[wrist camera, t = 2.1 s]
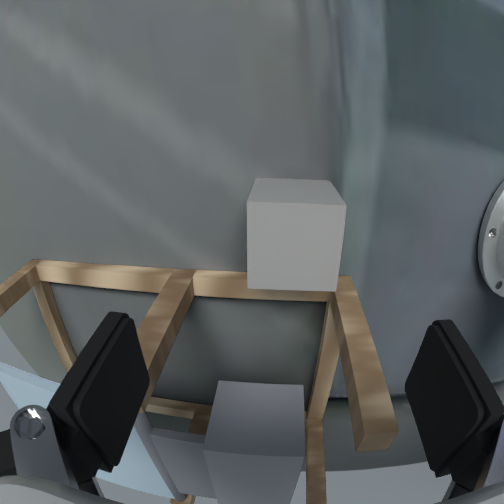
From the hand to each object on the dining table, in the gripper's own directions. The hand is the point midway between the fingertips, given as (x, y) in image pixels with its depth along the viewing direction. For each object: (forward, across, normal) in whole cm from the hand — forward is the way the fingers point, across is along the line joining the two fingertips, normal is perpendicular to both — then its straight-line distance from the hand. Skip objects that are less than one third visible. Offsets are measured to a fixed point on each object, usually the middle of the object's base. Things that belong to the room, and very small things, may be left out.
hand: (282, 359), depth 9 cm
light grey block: (+14, -1, 0) cm, 14 cm away
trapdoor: (+6, +9, +14) cm, 18 cm away
